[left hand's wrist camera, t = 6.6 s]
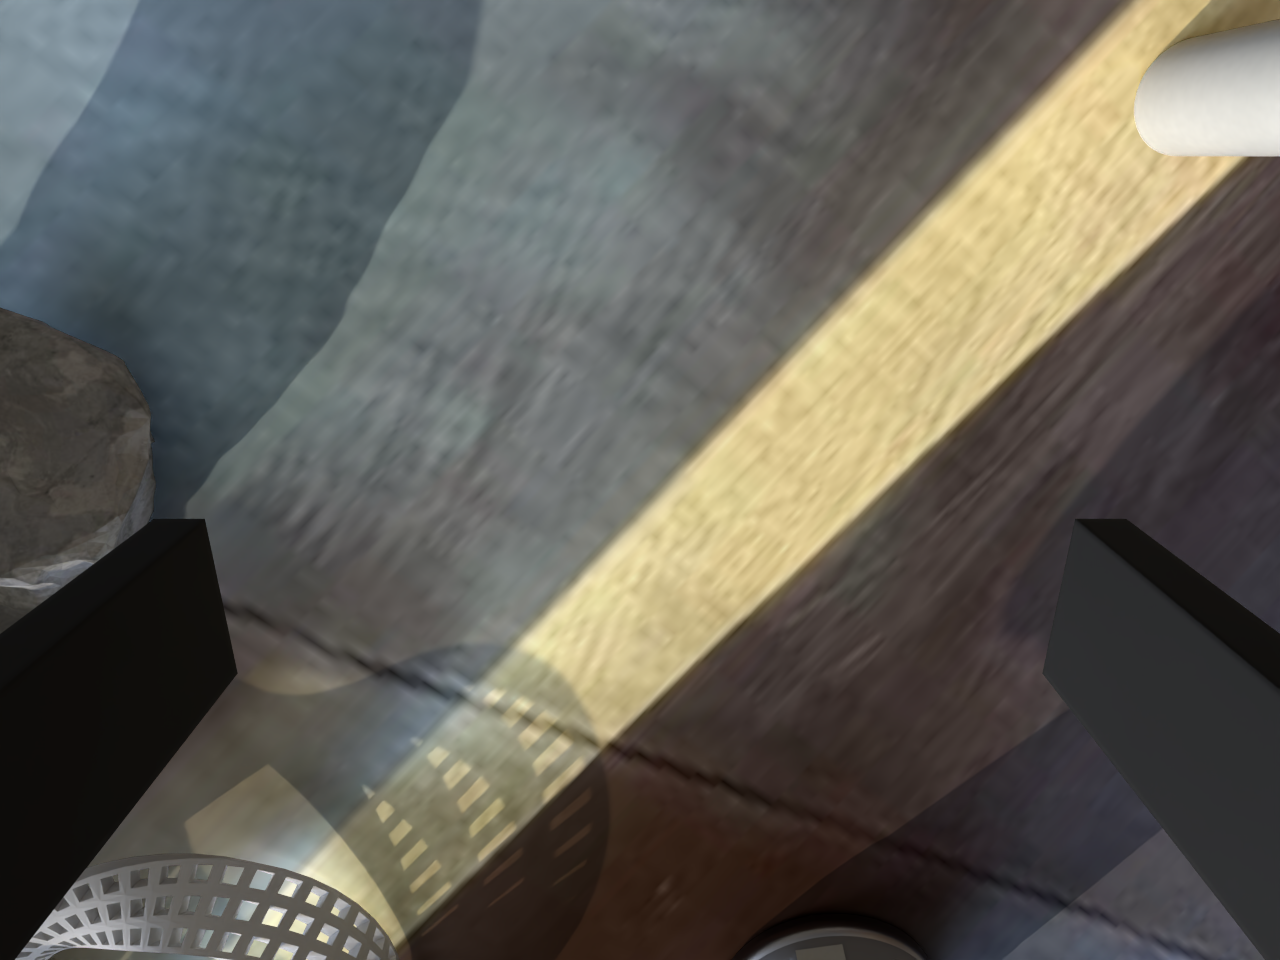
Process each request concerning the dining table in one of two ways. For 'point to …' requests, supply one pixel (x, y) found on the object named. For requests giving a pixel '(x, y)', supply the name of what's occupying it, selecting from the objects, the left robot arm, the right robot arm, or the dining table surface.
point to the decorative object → (204, 913)
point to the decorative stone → (65, 460)
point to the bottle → (1214, 95)
